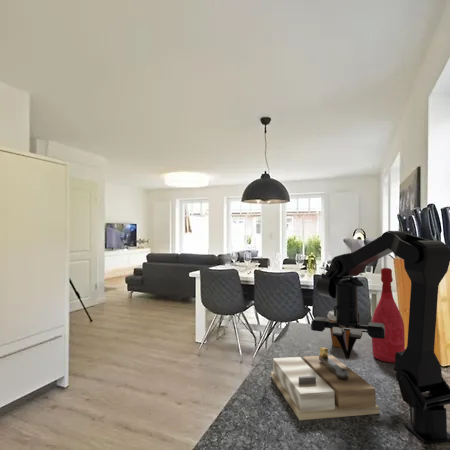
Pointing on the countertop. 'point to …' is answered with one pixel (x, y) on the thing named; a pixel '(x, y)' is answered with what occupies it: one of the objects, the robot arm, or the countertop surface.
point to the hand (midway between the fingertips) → (347, 358)
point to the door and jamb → (322, 389)
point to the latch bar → (332, 364)
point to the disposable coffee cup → (334, 339)
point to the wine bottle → (388, 322)
